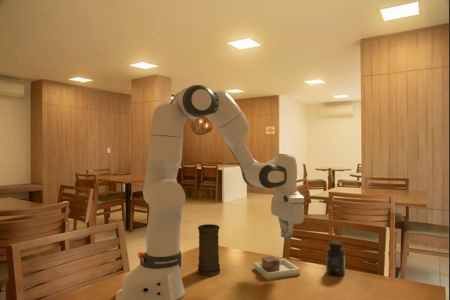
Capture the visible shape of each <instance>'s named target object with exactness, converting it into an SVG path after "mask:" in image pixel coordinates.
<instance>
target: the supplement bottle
mask: <svg viewBox="0 0 450 300" xmlns="http://www.w3.org/2000/svg"><path fill="white" fill-rule="evenodd" d="M325 252H326V254H325V256H326V258H325V259H326V262H325V263H326V264H325V265H326V266H325V267H326V270H325V271H326V273H327V274H328V275H329V276H331V277H343V276H344V275H345V274H346V265H345V264H346V253H345V251H344V249H343V243H342V242H341V241H338V240H330V241H329V242H328V248H327V249H326V251H325Z"/></svg>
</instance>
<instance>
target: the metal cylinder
mask: <svg viewBox="0 0 450 300" xmlns="http://www.w3.org/2000/svg"><path fill="white" fill-rule="evenodd" d="M288 225H289V224H288V221H287V220H281V228H280V237H281V238H285V239H291V238H292V237H293V232H292V233H289V232H287V227H288Z"/></svg>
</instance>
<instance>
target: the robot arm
mask: <svg viewBox="0 0 450 300" xmlns="http://www.w3.org/2000/svg"><path fill="white" fill-rule="evenodd" d="M204 117H207V118H209V119H210V120H211V121H212V123H213V125H214V126H215V128H216V130H217V131H218V133H220V135H221V137H222V138H223V139H224V141H225V143H226V145H227V147H228V149H229V150H230V152H231V154H232V156H233V157H234V159H235V160H236V162H237V164H238V166H239V167H240V171H241V177H242V179H243V182H245V184H247V185H248V186H250V187H255V188H262V189H267V190H269V189H274V194H273V197H272V198H271V202H270V203H271V204H270V212H271V215H272V216H275V217H277V221H278V223H279V228H280V229H281V220H287V221H288V224H289V225H288V227H287V232H289V233H292V234H293V232H294V226H295V225H300V224H303V222H304V220H305V219H304V218H305V207H304V206H305V205H304V203H305V197H304V196H303V194H301V193H300V192H299V191H298V185H297V179H298V165H297V160H296V158H295V156H293V155H291V154H285V153H278V154H276V155H275V156H274V157H272V158H271V159H270V160H268V161H266V162H259V161H257V160H256V159H255V158H254V157H253V155H252V153H251V152H250V150H249V147H248V146H247V145H246V141H245V139H246V137H247V136H248V134H249V131H250V123H249V122H248V121H249V120H248V119H247V117H246V115H245V114H244V112H243V110H242V109H241V107H240V106H239V105H238V104H237V102H236V101H235V100H234V98H232V96H231V95H230V94H229V93H228V92H227V91H224V90H217V91H213V90H212V89H210V88H208V87H207V86H205V85H203V84H202V85H201V84H195V85H190V86H188V87H185V88H183V89H181V91H179V92H177V93H176V94H175V95H174V97H173V99H172V100H171V102H170V103H162V104H159V105H157V106H156V107H155V109H154V110H153V114H152V119H151V122H150V123H151V124H150V129H149V144H148V157H147V165H146V169H145V176H144V181H143V182H144V183H143V189H142V195H143V199H144V201H145V202H146V203H147V204H148V217H147V218H148V219H147V226H146V230H145V231H146V233H145V235H146V236H145V237H146V238H145V241H146V242H145V244H146V249H145V252H143V251H139V252H138V253H137V256H138V258H139V265H138V266H136V267H135V268H134V269H133V270H131V271H130V272H128V274H126V276H125V277H124V280H123V284H122V288H120V289H118V290H117V292H116V293H115V299H114V300H180V299H181V298H182V297H183V296H184V295H185V293H186V291H185V287H184V283H183V278H182V260H183V259H182V251H181V247H180V244H181V243H180V242H181V241H180V239H181V237H180V236H181V235H180V233H181V229H180V228H181V222H182V216H183V210H184V206H185V204H186V198H187V197H186V193H185V190H184V188H183V187H182V185H181V184H180V183H178V182H177V176H178V172H179V168H180V165H181V163H182V159H183V158H182V155H183V142H184V129H185V128H184V127H185V124H186V123H187V121H189V120H197V119H200V118H204Z"/></svg>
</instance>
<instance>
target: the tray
mask: <svg viewBox="0 0 450 300" xmlns="http://www.w3.org/2000/svg"><path fill="white" fill-rule="evenodd" d="M279 262H280V271H275V272H267V271H266V270H264V269H263V268H262V261H259V262H258V261H257V262H253V269H254V270H255V271H256V272H257V273H258V274H260V275H261V276H262V277H263V278H265V280H267V281H268V280H270V281H271V280H275V279H281V278H282V279H283V278H288V277H289V278H290V277H296V276H300V275H301V268H299V266H297V265H295V264H294V263H292V262H290V261H288V259H285V258H282V259H281V258H280V259H279Z"/></svg>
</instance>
